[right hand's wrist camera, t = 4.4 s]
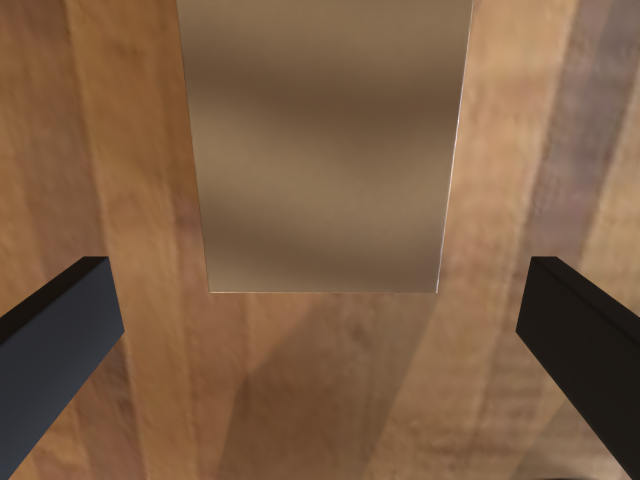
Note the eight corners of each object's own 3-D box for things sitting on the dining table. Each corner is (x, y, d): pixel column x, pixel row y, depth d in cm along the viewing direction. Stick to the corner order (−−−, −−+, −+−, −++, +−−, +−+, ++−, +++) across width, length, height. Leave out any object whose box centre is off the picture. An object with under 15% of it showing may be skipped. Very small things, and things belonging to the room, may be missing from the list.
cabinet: (219, -99, 21) (149, -226, 13) (428, -99, 21) (502, -225, 13) (243, 228, 28) (208, 293, 19) (401, 229, 28) (437, 293, 19)
